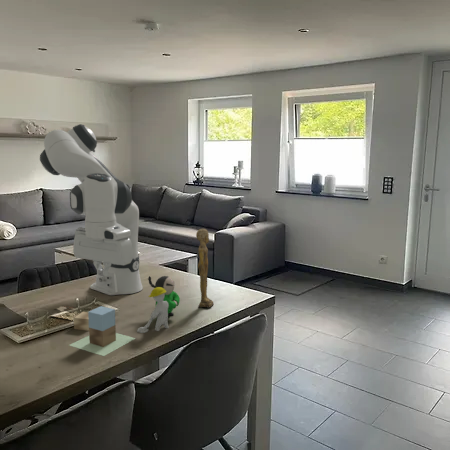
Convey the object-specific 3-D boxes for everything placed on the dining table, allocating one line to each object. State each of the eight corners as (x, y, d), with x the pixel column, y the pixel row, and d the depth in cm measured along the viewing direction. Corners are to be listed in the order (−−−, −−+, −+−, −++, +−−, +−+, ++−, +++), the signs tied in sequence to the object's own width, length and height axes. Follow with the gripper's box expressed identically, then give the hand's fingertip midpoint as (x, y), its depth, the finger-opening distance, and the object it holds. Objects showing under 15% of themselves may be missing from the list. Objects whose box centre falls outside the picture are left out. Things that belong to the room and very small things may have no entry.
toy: (172, 323, 157) (171, 281, 154) (142, 319, 160) (141, 278, 158) (182, 313, 166) (182, 274, 163) (154, 310, 169) (154, 271, 167)
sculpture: (210, 309, 171) (211, 230, 165) (194, 308, 172) (194, 229, 167) (214, 303, 177) (215, 227, 172) (198, 302, 178) (199, 226, 173)
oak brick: (74, 332, 149) (73, 317, 148) (83, 325, 154) (82, 311, 154) (89, 333, 148) (88, 319, 147) (98, 327, 153) (97, 313, 152)
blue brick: (88, 327, 138) (88, 311, 137) (101, 321, 142) (101, 306, 142) (102, 331, 135) (102, 315, 134) (115, 324, 140) (114, 309, 139)
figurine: (148, 323, 157) (147, 281, 154) (172, 327, 154) (172, 284, 151) (133, 335, 147) (132, 290, 144) (159, 339, 144) (158, 293, 142)
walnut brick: (89, 343, 139) (89, 327, 138) (102, 336, 143) (102, 321, 142) (103, 347, 136) (102, 331, 135) (115, 340, 141) (115, 324, 140)
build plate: (68, 348, 137) (68, 345, 137) (102, 332, 149) (102, 329, 149) (103, 359, 131) (103, 355, 130) (135, 341, 143) (135, 338, 142)
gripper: (67, 228, 136) (69, 273, 138) (120, 235, 126) (122, 283, 129) (82, 224, 141) (84, 268, 144) (135, 231, 132) (136, 277, 134)
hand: (102, 275), depth 136 cm, fingers closed
